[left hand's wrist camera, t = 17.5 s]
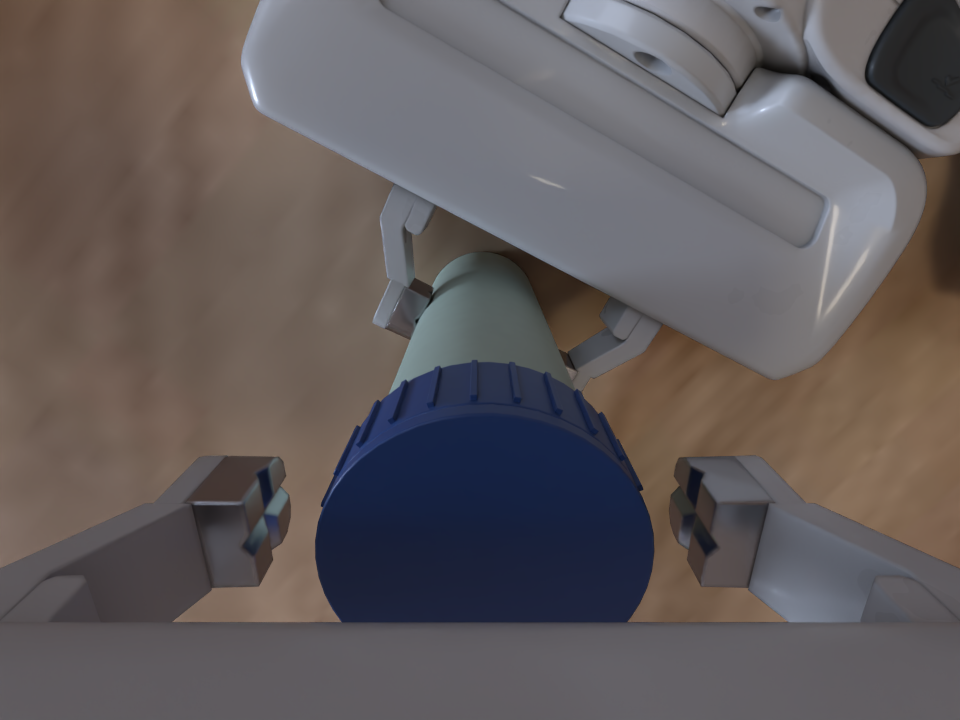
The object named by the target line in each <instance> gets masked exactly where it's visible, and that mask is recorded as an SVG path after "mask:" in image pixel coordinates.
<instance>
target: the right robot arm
mask: <svg viewBox="0 0 960 720" xmlns="http://www.w3.org/2000/svg"><path fill="white" fill-rule="evenodd" d="M241 66H242V71H243V74H244V77H245V80H246V84H247V87H248V90H249V93H250V96H251V99H252V102H253V104H254V106H255V108H256V109H257V110H258V111H259V112H260V113H262V114H263V115H265V116H267V117H269V118H271V119H273V120H275V121H277V122H278V123H280V124H282V125H284V126H286V127H288V128H290V129H292V130H294V131H296V132H298V133H299V134H301V135H303V136H305V137H307V138H309V139H311V140H313V141H315V142H317V143H319V144H320V145H322V146H324V147H326V148H328V149H330V150H332V151H334V152H336V153H338V154H340V155H342V156H343V157H345V158H347V159H349V160H351V161H353V162H355V163H357V164H359V165H361V166H363V167H364V168H366V169H368V170H370V171H372V172H374V173H376V174H378V175H380V176H382V177H384V178H385V179H387V180H389V181H391V182H393V183H394V185H393V187H392V189H391V192H390V194H389V197H388V199H387V201H386V204H385V206H384V208H383V211H382V213H381V215H380V223H381V231H382V239H383V247H384V255H385V263H386V270H387V278H389V279H391V280H390V283H389V285H388V287H387V289H386V291H385V294H384V296H383V298H382V300H381V302H380V305H379V307H378V309H377V311H376V314H375V316H374V318H373V322H372V323H374V324H376V325H378V326H380V327H382V328H384V329H387V330H389V331H392V332H394V333H396V334H398V335H400V336H403V337H405V338H407V339H409V340H411V338H412V335H413V333H414V330H415V328H416V326H417V323H418V321H419V318H420V317H421V316H422V314H423V313H424V311H425V309H426V307H427V305H428V303H429V301H430V298H431V296H432V293H433V291H434V287H432V286H430V285H428V284H426V283H424V282H422V281H420V280H418V279H416V278H415V269H414V257H413V244H412V233H413V234H415V235H419V234H421V233H422V232H423V231H424V230H425V229H426V228H427V227H428V225H429V222H430V220H431V218H432V216H433V214H434V212H435V210H436V208H437V206H439V207H441V208H443V209H445V210H447V211H449V212H450V213H452V214H454V215H456V216H458V217H460V218H462V219H464V220H466V221H468V222H470V223H471V224H473V225H475V226H477V227H479V228H481V229H483V230H485V231H487V232H489V233H491V234H493V235H494V236H496V237H498V238H500V239H502V240H504V241H506V242H508V243H510V244H512V245H514V246H515V247H517V248H519V249H521V250H523V251H525V252H527V253H529V254H531V255H533V256H535V257H536V258H538V259H540V260H542V261H544V262H546V263H548V264H550V265H552V266H554V267H556V268H558V269H559V270H561V271H563V272H565V273H567V274H569V275H571V276H573V277H575V278H577V279H579V280H580V281H582V282H584V283H586V284H588V285H590V286H592V287H594V288H596V289H598V290H600V291H601V292H603V293H605V294H607V295H609V296H610V298H609V300H608V301H607V303H606V305H605V306H604V308H603V310H602V311H601V313H600V319H601V320H602V321H603V323H604V324H605V325H606V326H607V328H605V329H603V330H602V331H600V332H599V333H597V334H595V335H594V336H592V337H591V338H589V339H587V340H586V341H584V342H583V343H581V344H579V345H578V346H576V347H575V348H573V349H571V350H570V351H568V353H566V352H564V351H562V350H560V349H558V350H559V352H560V354H561V357H562V359H563V361H564V364H565V366H566V368H567V371H568V373H569V376H570V378H571V380H572V383H573V385H574V387H575V390H576V389H578V390H580V391H581V392H582V390H583V389H584V387H585V386H586V384H587V383H588V381H589V379H590V378H593V379H594V378H596V377H598V376H600V375H602V374H604V373H606V372H608V371H610V370H611V369H613V368H615V367H617V366H619V365H621V364H623V363H625V362H627V361H628V360H630V359H632V358H634V357H636V356H638V355H640V354H642V353H644V352H645V350H646V349H647V347H648V346H649V344H650V343H651V341H652V340H653V338H654V337H655V335H656V334H657V332H658V331H659V329H660V328H661V326H662V325H663V324H665V325H666V326H668V327H670V328H672V329H674V330H676V331H678V332H680V333H682V334H684V335H686V336H687V337H689V338H691V339H693V340H695V341H697V342H699V343H701V344H703V345H705V346H707V347H709V348H710V349H712V350H714V351H716V352H718V353H720V354H722V355H724V356H726V357H728V358H730V359H731V360H733V361H735V362H737V363H739V364H741V365H743V366H745V367H747V368H749V369H751V370H753V371H754V372H756V373H758V374H760V375H762V376H764V377H766V378H768V379H771V380H779V379H782V378H785V377H788V376H790V375H793V374H796V373H798V372H800V371H803V370H805V369H808V368H810V367H812V366H813V365H815V364H816V363H817V362H819V361H820V360H821V359H822V358H823V357H824V356H825V355H826V354H827V353H828V352H829V351H830V349H831V348H832V347H833V346H834V345H835V344H836V342H837V341H838V340H839V339H840V337H841V336H842V335H843V334H844V333H845V331H846V330H847V329H848V328H849V326H850V325H851V324H852V323H853V321H854V320H855V319H856V317H857V316H858V315H859V313H860V312H861V311H862V309H863V308H864V307H865V305H866V304H867V303H868V301H869V300H870V299H871V297H872V296H873V295H874V293H875V292H876V290H877V289H878V288H879V286H880V285H881V283H882V282H883V281H884V279H885V278H886V276H887V275H888V273H889V272H890V270H891V269H892V267H893V266H894V264H895V263H896V262H897V260H898V259H899V257H900V256H901V254H902V252H903V251H904V249H905V248H906V246H907V245H908V243H909V241H910V239H911V238H912V236H913V234H914V232H915V230H916V228H917V226H918V224H919V222H920V219H921V216H922V213H923V210H924V207H925V202H926V196H927V181H926V177H925V172H924V170H923V167H922V165H921V164H920V162H919V160H918V159H924V158H933V157H941V156H949V155H955V154H958V153H960V0H260V2H259V5H258V7H257V10H256V13H255V15H254V18H253V21H252V23H251V26H250V29H249V31H248V34H247V37H246V40H245V43H244V47H243V50H242V56H241Z"/></svg>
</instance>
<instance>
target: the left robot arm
mask: <svg viewBox="0 0 960 720" xmlns="http://www.w3.org/2000/svg"><path fill="white" fill-rule="evenodd" d="M285 477H286V472H285V467H284V462H283V461H282V460H281V458H280V457H266V456H227V455H222V456H202V457H199V458H198V459H197V460H196V461H195V462H194V463H193V464H192V465H191V466H190V467H189V468H188V469H187V470H186V471H185V472H184V473H183V474H182V475H181V476H180V477H179V478H178V479H177V480H176V481H175V482H174V483H173V484H172V485H171V486H170V487H169V488H168V489H167V490H166V491H165V492H164V493H163V494H162V495H161V496H160V497H159V498H158V499H157V500H156V501H155V502H154V503H145V504H143V505H140V506H138V507H136V508H134V509H132V510H129V511H127V512H125V513H123V514H120V515H118V516H116V517H114V518H111V519H109V520H107V521H105V522H103V523H100V524H98V525H96V526H94V527H91V528H89V529H87V530H85V531H83V532H80V533H78V534H76V535H74V536H71V537H69V538H67V539H65V540H63V541H60V542H58V543H56V544H54V545H51V546H49V547H47V548H45V549H43V550H40V551H38V552H36V553H34V554H31V555H29V556H27V557H25V558H22V559H20V560H18V561H16V562H14V563H11V564H9V565H7V566H5V567H2V568H0V720H960V569H959V568H957V567H955V566H953V565H950V564H948V563H946V562H944V561H942V560H939V559H937V558H935V557H933V556H931V555H928V554H926V553H924V552H922V551H919V550H917V549H915V548H913V547H911V546H908V545H906V544H904V543H902V542H899V541H897V540H895V539H893V538H891V537H888V536H886V535H884V534H882V533H879V532H877V531H875V530H873V529H871V528H868V527H866V526H864V525H862V524H860V523H857V522H855V521H853V520H851V519H848V518H846V517H844V516H842V515H840V514H837V513H835V512H833V511H831V510H828V509H826V508H824V507H822V506H820V505H817V504H815V503H806V502H805V501H804V500H803V499H802V498H801V497H800V496H799V495H798V494H797V493H796V492H795V491H794V490H793V489H792V488H791V487H790V486H789V485H788V484H787V483H786V482H785V481H784V480H783V479H782V478H781V477H780V476H779V475H778V474H777V473H776V472H775V471H774V470H773V469H772V468H771V467H770V466H769V465H768V464H767V463H766V462H765V461H764V460H763V458H761V457H758V456H756V455H748V456H718V457H682V458H679V459H678V461H677V463H676V466H675V472H674V477H675V479H676V480H677V482H678V484H679V485H680V486H679V487H678V488H677V489H676V490H675V491H674V492H673V493H672V494H671V497H670V505H669V515H670V524H671V528H672V531H673V534H674V536H675V538H676V540H677V542H678V543H679V544H680V545H682V546H683V547H685V548H686V549H688V556H687V561H688V563H689V565H690V567H691V568H692V570H693V572H694V574H695V576H696V578H697V580H698V581H699V583H700V585H701V586H702V587H739V588H748V590H749V591H750V592H751V593H753V594H754V595H755V596H756V597H758V598H759V599H760V600H762V601H763V602H764V603H765V604H767V605H768V606H769V607H770V608H772V609H773V610H774V611H775V612H777V613H778V614H779V615H780V616H782V617H783V618H784V619H785V620H787V621H788V622H172V621H173V620H175V619H176V618H177V617H179V616H180V615H181V614H182V613H184V612H185V611H186V610H187V609H189V608H190V607H191V606H192V605H194V604H195V603H196V602H197V601H199V600H200V599H201V598H202V597H204V596H205V595H206V594H207V593H209V592H210V591H211V590H212V589H211V588H221V587H256V586H259V585H260V583H261V582H262V580H263V578H264V576H265V574H266V572H267V570H268V568H269V567H270V565H271V563H272V561H273V556H272V549H274V548H275V547H277V546H278V545H280V544H281V543H282V542H283V540H284V538H285V536H286V534H287V532H288V527H289V523H290V518H291V504H290V497H289V494H288V493H287V492H286V491H285V490H284V489H283V488H282V487H281V486H280V485H281V484H282V482H283V480H284V479H285Z"/></svg>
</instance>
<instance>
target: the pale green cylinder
mask: <svg viewBox="0 0 960 720" xmlns="http://www.w3.org/2000/svg"><path fill="white" fill-rule="evenodd" d="M432 287H434V291H433V293H432V296H431V298H430V301H429V303H428V305H427V307H426V309H425V311H424V313H423V314H422V316H421V317H420V318H419V321H418V323H417V326H416V328H415V330H414V333H413V335H412V338H411V340H410V343H409V345H408V348H407V350H406V353H405V355H404V358H403V360H402V363H401V365H400V368H399V370H398V373H397V375H396V378H395V380H394V383H393V385H392V388H391V390H390V393H392V392H393V391H394V390H395V389H397V388H398V387H400V384H401V382H402V381H404V380H405V379H406V380H407V381H410V380H412V379H413V378H415V377H418V376H420V375H422V374H425V373H427V372H430V371H432V370H434V368H435V367H436V366H440V367H441V368H443V367H446V366H450V365H456V364H463V363H470V362H471V361H472V360H478V362H496V363H506V364H509V362H515V365H517V366H521V367H526V368H530V369H533V370H535V371H538V372H541V373H545V372H548V373H551V376H552V378H554V379H556V380H558V381H560V382H562V383H564V384H565V385H567V386H568V387H570V388H571V389H573V390H574V391H575V387H574V385H573V383H572V380H571V378H570V376H569V373H568V371H567V368H566V366H565V364H564V361H563V359H562V357H561V354H560V352H559V350H558V347H557V345H556V343H555V340H554V338H553V336H552V333H551V331H550V329H549V326H548V324H547V322H546V319H545V317H544V315H543V312H542V310H541V308H540V305H539V303H538V301H537V298H536V296H535V294H534V291H533V289H532V287H531V284H530V282H529V280H528V278H527V276H526V275H525V273H524V272H523V271H522V270H521V268H519V267H518V266H517V265H516V264H515V263H514V262H512V261H511V260H509V259H507V258H505V257H504V256H501V255H498V254H494V253H490V252H474V253H469V254H466V255H463V256H460V257H458V258H456V259H455V260H453V261H451V262H450V263H449V264H448V265H446V266H445V267H444V268H443V269H442V271H441V272H440V273H439V275H438V276H437V278H436V279H435V281H434V283H433V286H432ZM390 393H389V394H390Z"/></svg>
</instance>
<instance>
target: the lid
mask: <svg viewBox="0 0 960 720" xmlns="http://www.w3.org/2000/svg"><path fill="white" fill-rule="evenodd" d="M333 474H334V477H333V479H332V481H331V483H330V485H329V488H328V490H327V492H326V494H325V496H324V498H323V500H322V503H321V507H323V509H322V512H321V515H320V518H319V521H318V526H317V532H316V539H315V559H316V564H317V570H318V576H319V579H320V582H321V585H322V588H323V591H324V594H325V596H326V598H327V599H328V601H329V603H330V605H331V607H332V609H333V611H334V612H335V613H336V615H337V616H338V617H339V619H340V620H341V622H627V621H628V620H629V619H630V618H631V616H632V615H633V613H634V612H635V610H636V608H637V607H638V605H639V604H640V602H641V600H642V598H643V595H644V593H645V591H646V589H647V586H648V583H649V579H650V576H651V572H652V566H653V558H654V535H653V529H652V525H651V520H650V515H649V513H648V510H647V508H646V505H645V503H644V500H643V498H642V496H641V494H640V492H639V491H642V490H643V487H642V485H641V483H640V481H639V479H638V477H637V475H636V473H635V471H634V469H633V467H632V465H631V463H630V461H629V459H628V457H627V455H626V453H625V451H624V449H623V447H622V445H621V443H620V441H619V439H616V437H615V435H614V433H613V431H612V429H611V427H610V425H609V423H608V421H607V419H606V417H605V415H604V414H603V413H602V412H600V413H599V414H598V413H597V412H596V410H595V409H594V408H593V407H592V406H591V405H590V404H589V403H588V402H587V401H586V400H585V399H584V397H583V395H582V393H581V391H580V390H578V389H576V390H575V391H574V390H573V389H571V388H570V387H568V386H567V385H565V384H564V383H562V382H560V381H558V380H556V379H554V378H552V376H551V373H548V372H545V373H541V372H538V371H535V370H533V369H530V368H526V367H521V366H517V365H515V362H509V364H506V363H496V362H478V360H472V361H471V362H470V363H463V364H456V365H450V366H446V367H443V368H441V367H440V366H436V367H435V368H434V370H432V371H430V372H427V373H425V374H422V375H420V376H418V377H415V378H413V379H412V380H410V381H407V380H406V379H405V380H404V381H402V382H401V384H400V387H398V388H397V389H395V390H394V391H393V392H392V393H390V394H389V395H388V396H386V397H385V398H384V399H383V400H382V401H381V402H380V401H379V400H377V401H376V402H375V403H374V405H373V407H372V409H371V411H370V414H369V415H368V417H367V418H366V420H365V421H364V422H363V424H362V425H361V427H359V426H358V425H357V426H356V427H355V429H354V431H353V433H352V435H351V438H350V440H349V442H348V444H347V446H346V448H345V450H344V452H343V454H342V456H341V458H340V460H339V463H338V465H337V467H336V469H335V471H334V473H333Z"/></svg>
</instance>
